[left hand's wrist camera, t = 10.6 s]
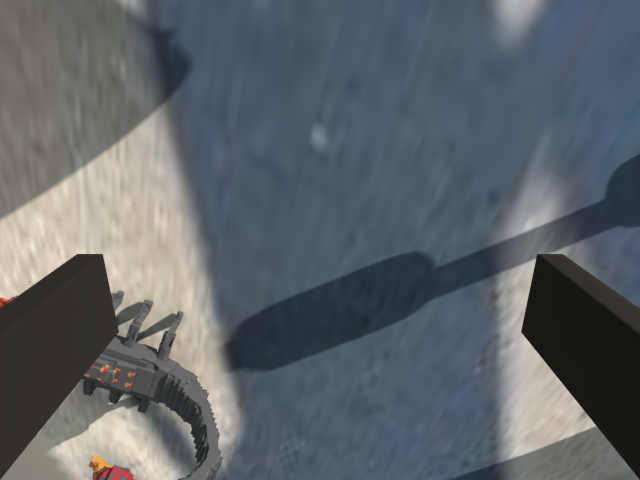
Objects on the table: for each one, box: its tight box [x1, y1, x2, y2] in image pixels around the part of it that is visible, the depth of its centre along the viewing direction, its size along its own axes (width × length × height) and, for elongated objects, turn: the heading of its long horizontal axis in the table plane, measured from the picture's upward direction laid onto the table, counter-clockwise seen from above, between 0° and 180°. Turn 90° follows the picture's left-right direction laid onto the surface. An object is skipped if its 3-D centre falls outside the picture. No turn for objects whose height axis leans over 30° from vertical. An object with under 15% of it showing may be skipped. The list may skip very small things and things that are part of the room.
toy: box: [0, 291, 223, 480], centre depth 39 cm, size 13×27×18 cm, turn 67°
